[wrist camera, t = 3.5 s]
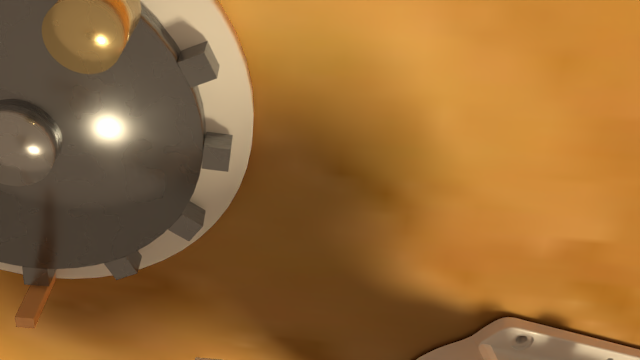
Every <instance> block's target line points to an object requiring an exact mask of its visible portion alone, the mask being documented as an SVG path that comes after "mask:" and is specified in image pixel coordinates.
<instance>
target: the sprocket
mask: <svg viewBox="0 0 640 360" xmlns="http://www.w3.org/2000/svg"><path fill="white" fill-rule="evenodd" d="M219 67H220V65H219V63H218V61H217V59H216V57H215V55H214V53H213V51H212V49H211V47H210V45H209V43H208V41H206V42H203V43H200V44H197V45H195V46H192V47H189V48H187V49H184V50H180V49H179V47H178V46H177V44H176V42H175V41H174V40H173V38H172V37H171V36H170V35H169V33H168V32H167V31H166V29H165V28H164V27H163V26H162V24H161V23H160V22H159V21H158V20H157V19H156V18H155V17H154V16H153V15H152V14H151V13H150V12H149V11H148V10H147V9H146V8H145V7H144V6H143V5H142V4H141V3H140V0H0V262H2V263H7V264H11V265H17V266H22V270H23V278H24V284H26V285H38V286H49V285H50V283H51V281H52V279H53V276H54V274H55V272H56V270H57V269H66V268H80V267H86V266H93V265H98V264H102V263H104V265H105V266H106V267H107V268H108V270H109V271H110V272H111V274H112V275H113V276H114V278H115V279H116V280H118V279H121V278H124V277H127V276H130V275H133V274H137V273H138V269H139V266H140V262H141V259H142V255H141V254H140V253H139V251H138V250H139V249H141V248H143V247H145V246H147V245H148V244H150V243H151V242H153V241H154V240H155V239H157V238H158V237H159V236H161V235H162V234H163V233H164V232H165V231H166V230H167V229H168V230H169V231H171V232H173V233H174V234H176V235H178V236H180V237H182V238H183V239H185V240H187V241H190V240H191V239H192V238H193V237H194V236H195V235H196V234H197V232H198V231H199V230H200V229H201V228H202V227H203V223H204V217H205V211H206V210H204V209H202V208H201V207H199V206H197V205H196V204H194V203H192V202H190V199H191V197H192V195H193V193H194V191H195V188H196V185H197V182H198V179H199V176H200V171H201V166H202V169H209V170H217V171H226V172H228V170H229V162H230V154H231V145H232V137H233V135H228V134H221V133H213V132H206V122H205V115H204V108H203V102H202V99H201V95H200V92H199V88H198V85H200V84H203V83H206V82H209V81H211V80H214V79H217V76H218V72H219Z"/></svg>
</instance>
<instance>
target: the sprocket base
mask: <svg viewBox="0 0 640 360" xmlns="http://www.w3.org/2000/svg"><path fill="white" fill-rule="evenodd" d="M140 3H141V4H142V5H143V6H144V7H145V8H146V9H147V10H148V11H149V12H150V13H151V14H152V15H153V16H154V17H155V18H156V19H157V20H158V21H159V22H160V23H161V24H162V26H163V27H164V28H165V29H166V31H167V32H168V33H169V35H170V36H171V37H172V38H173V40H174V41H175V42H176V44H177V46H178V47H179V49H180V50H184V49H187V48H189V47H192V46H195V45H197V44H200V43H203V42H206V41H208V43H209V45H210V47H211V49H212V51H213V53H214V55H215V57H216V59H217V61H218V63H219V65H220V67H219V72H218V76H217V79H214V80H211V81H209V82H206V83H203V84H200V85H198V88H199V92H200V95H201V99H202V102H203V108H204V115H205V122H206V132H213V133H221V134H228V135H233V137H232V145H231V154H230V162H229V170H228V172H226V171H217V170H209V169H202V166H201V171H200V176H199V179H198V182H197V185H196V188H195V191H194V193H193V195H192V197H191V199H190V202H192V203H194V204H196V205H197V206H199V207H201V208H202V209H204V210H206V211H205V217H204V223H203V227H202V228H201V229H200V230H199V231H198V232H197V234H196V235H195V236H194V237H193V238H192V239H191V240H190V241H187V240H185V239H183V238H182V237H180V236H178V235H176V234H174V233H173V232H171V231H169V230H168V229H167V230H166V231H165V232H164V233H163V234H162V235H161V236H159V237H158V238H157V239H155V240H154V241H153V242H151V243H150V244H148V245H147V246H145V247H143V248H141V249H139V250H138V251H139V253H140V254H141V255H142V259H141V262H140V266H139V269H142V268H145V267H147V266H150V265H152V264H155V263H158V262H160V261H163V260H165V259H167V258H169V257H170V256H172V255H174V254H176V253H178V252H180V251H182V250H183V249H185V248H186V247H188V246H189V245H190V244H192V243H193V242H195V241H196V240H197V239H199V238H200V237H201V236H202V235H203V234H204V233H205V232H207V231H208V230H209V229H210V228H211V227H212V226H213V225H214V224H215V223H216V222H217V220H218V219H219V218H220V217H221V215H222V214H223V213H224V212H225V210H226V209H227V208H228V207H229V205H230V203H231V201H232V200H233V198H234V196H235V194H236V193H237V191H238V189H239V187H240V185H241V182H242V179H243V177H244V174H245V172H246V169H247V165H248V161H249V156H250V152H251V147H252V136H253V120H254V101H253V89H252V82H251V77H250V73H249V69H248V64H247V60H246V57H245V54H244V52H243V49H242V46H241V44H240V41H239V39H238V36H237V33H236V31H235V29H234V28H233V26H232V24H231V22H230V20H229V18H228V16H227V14H226V13H225V11H224V9H223V7H222V5H221V4H220V3H219V1H218V0H140ZM0 269H1V270H5V271H10V272H14V273H18V274H23V270H22V266H17V265H11V264H7V263H2V262H0ZM105 276H112V274H111V272H110V271H109V270H108V268H107V267H106V266H105V265H104V263H102V264H98V265H93V266H86V267H80V268H66V269H57V270H56V272H55V274H54V276H53V279H52V281H51V283H50V285H49V286H38V285H30V287H29V289H28V291H27V293H26V295H25V298H24V300H23V302H22V304H21V306H20V308H19V310H18V312H17V314H16V316H15V321H16V327H25V328H35V326H36V324H37V322H38V320H39V317H40V315H41V313H42V310H43V308H44V306H45V304H46V301H47V299H48V297H49V294H50V292H51V290H52V288H53V285H54V283H55V281H56V278H63V279H81V278H98V277H105Z"/></svg>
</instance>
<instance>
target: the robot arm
mask: <svg viewBox="0 0 640 360" xmlns="http://www.w3.org/2000/svg"><path fill="white" fill-rule="evenodd" d="M195 360H222V359H210V358H198V357H196V358H195ZM416 360H640V350H639V349H635V348H631V347H627V346H624V345H620V344H616V343H612V342H608V341H604V340H600V339H596V338H592V337H588V336H584V335H581V334H577V333H573V332H569V331H565V330H561V329H557V328H553V327H549V326H545V325H541V324H537V323H534V322H530V321H526V320H522V319H518V318H513V317H505V318H501V319H498V320H496V321H494V322H492V323H490V324H489V325H487V326H486V327H484V328H483V329H481V330H480V331H478V332H477V333H475V334H474V335H472V336H470V337H468V338H466V339H463V340H461V341H458V342H455V343H451V344H448V345H445V346H443V347H440V348H437V349H435V350H433V351H431V352H429V353H427V354H425V355H423V356H421V357H419V358H418V359H416Z"/></svg>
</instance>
